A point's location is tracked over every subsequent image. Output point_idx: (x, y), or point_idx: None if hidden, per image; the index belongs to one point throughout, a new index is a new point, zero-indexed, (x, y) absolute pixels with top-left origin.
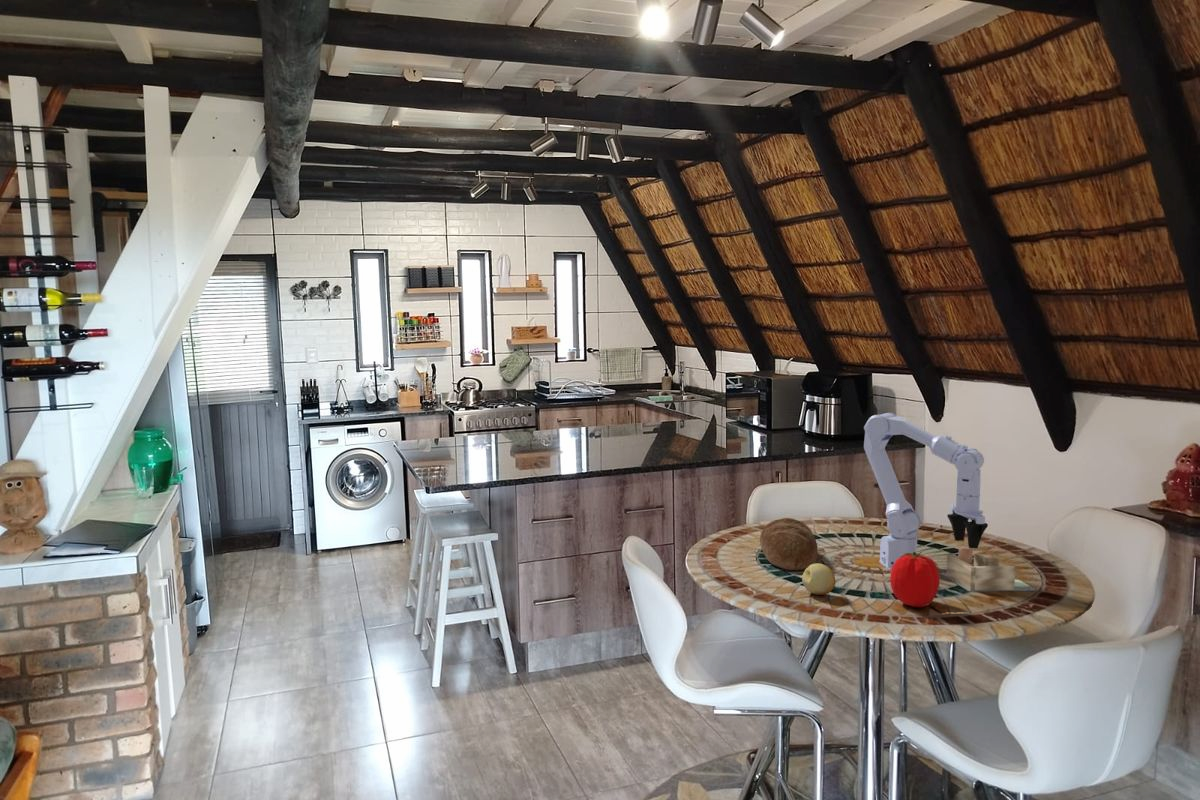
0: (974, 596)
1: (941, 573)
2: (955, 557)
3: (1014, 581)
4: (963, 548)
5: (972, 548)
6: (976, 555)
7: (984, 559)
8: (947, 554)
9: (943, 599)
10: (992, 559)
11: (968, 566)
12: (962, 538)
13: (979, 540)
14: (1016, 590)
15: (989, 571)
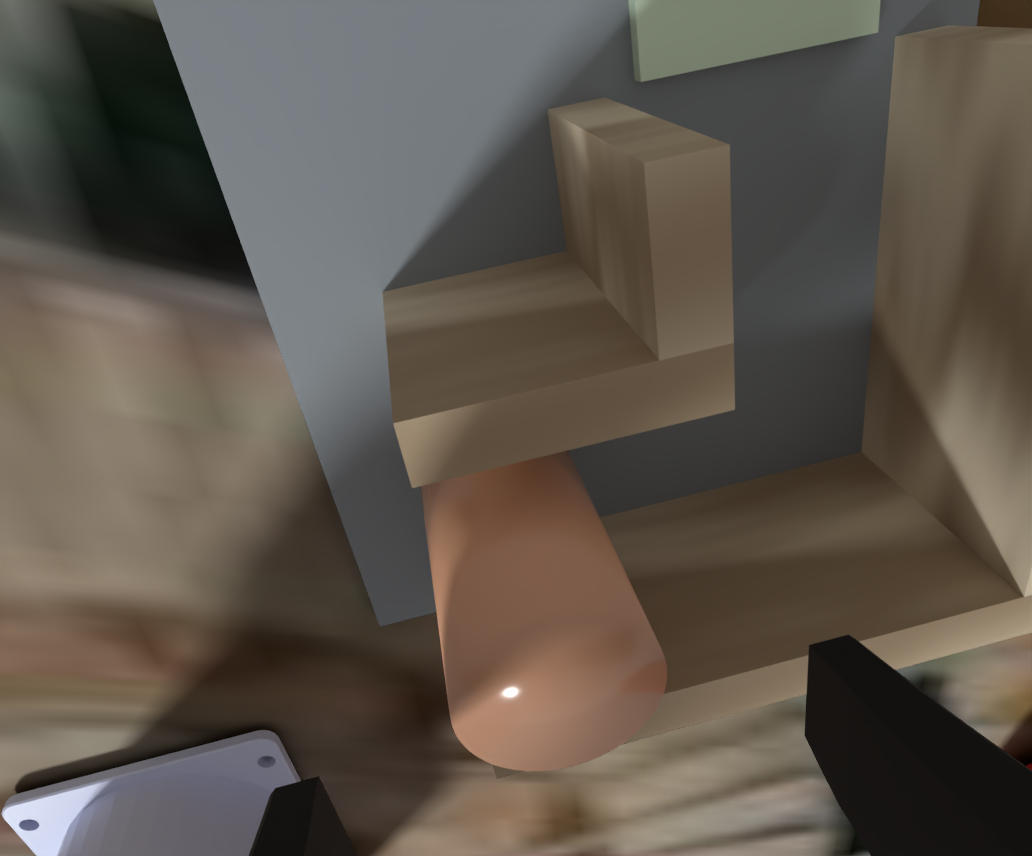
0: None
1: (400, 616)
2: (656, 718)
3: (1027, 28)
4: (590, 724)
5: (580, 616)
6: (491, 462)
7: (731, 402)
8: (503, 772)
9: (990, 647)
10: (729, 275)
11: (1006, 636)
12: (321, 830)
13: (989, 746)
14: (977, 4)
15: None
